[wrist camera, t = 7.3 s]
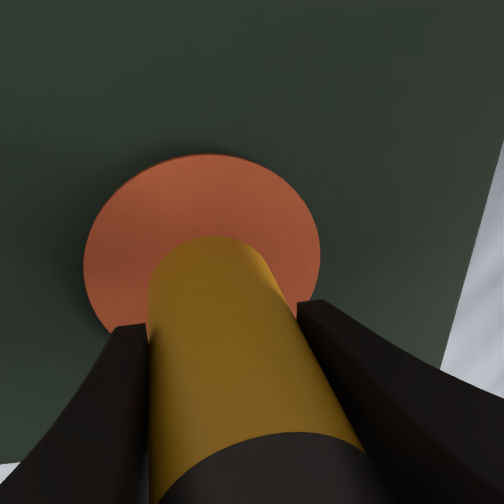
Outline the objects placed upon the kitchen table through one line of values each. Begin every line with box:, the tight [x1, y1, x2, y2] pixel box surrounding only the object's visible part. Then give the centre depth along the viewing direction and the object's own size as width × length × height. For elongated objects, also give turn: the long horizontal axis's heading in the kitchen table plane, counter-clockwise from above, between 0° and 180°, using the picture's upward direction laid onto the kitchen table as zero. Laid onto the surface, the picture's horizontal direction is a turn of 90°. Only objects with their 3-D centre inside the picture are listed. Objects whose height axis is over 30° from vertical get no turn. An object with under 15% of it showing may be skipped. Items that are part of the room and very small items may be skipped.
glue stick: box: [148, 236, 397, 504], centre depth 9 cm, size 4×4×8 cm
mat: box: [0, 0, 504, 464], centre depth 14 cm, size 16×16×1 cm
